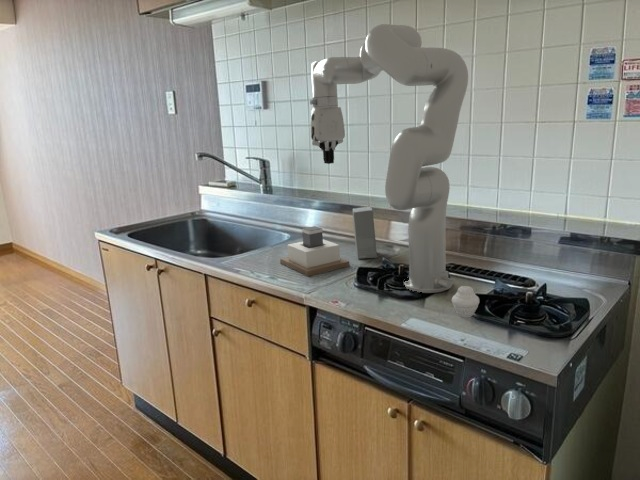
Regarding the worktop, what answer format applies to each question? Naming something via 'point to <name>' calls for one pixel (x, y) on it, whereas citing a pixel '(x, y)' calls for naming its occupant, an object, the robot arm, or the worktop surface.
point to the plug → (312, 237)
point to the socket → (314, 258)
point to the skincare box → (364, 232)
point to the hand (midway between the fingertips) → (329, 163)
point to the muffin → (465, 301)
